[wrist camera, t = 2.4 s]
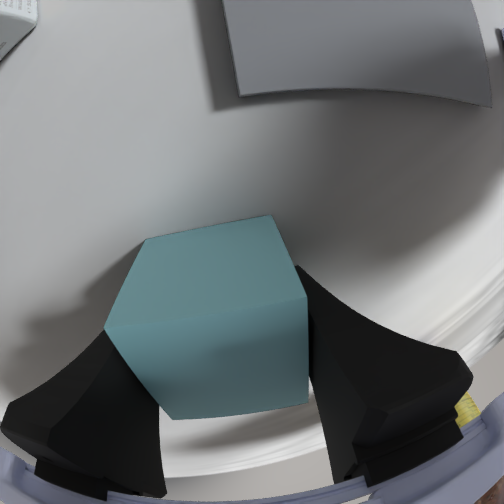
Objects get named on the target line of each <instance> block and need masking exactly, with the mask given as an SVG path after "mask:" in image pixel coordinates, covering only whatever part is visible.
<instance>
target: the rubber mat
mask: <svg viewBox="0 0 504 504" xmlns="http://www.w3.org/2000/svg"><path fill="white" fill-rule="evenodd" d="M221 2H222V7H223V12H224V18H225V23H226V28H227V34H228V39H229V45H230V50H231V56H232V61H233V67H234V73H235V78H236V84H237V90H238V96H239V97H244V96H251V95H259V94H268V93H277V92H288V91H302V90H327V89H356V90H379V91H393V92H404V93H413V94H420V95H428V96H434V97H440V98H446V99H451V100H456V101H461V102H465V103H470V104H474V105H478V106H484V107H489V108H492V99H491V88H490V79H489V72H488V66H487V60H486V54H485V49H484V44H483V40H482V36H481V32H480V28H479V24H478V20H477V17H476V14H475V10H474V7H473V4H472V1H471V0H221Z"/></svg>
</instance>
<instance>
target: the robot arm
mask: <svg viewBox="0 0 504 504" xmlns="http://www.w3.org/2000/svg"><path fill="white" fill-rule="evenodd" d="M502 35H503V39H504V28H502ZM294 267H295V270H296V272H297V274H298V277H299V279H300V281H301V284H302V286H303V288H304V291H305V293H306V295H307V308H308V351H309V377H310V380H311V383H312V387H313V390H314V394H315V398H316V402H317V406H318V410H319V414H320V418H321V423H322V427H323V431H324V436H325V440H326V445H327V450H328V455H329V460H330V465H331V470H332V476H333V481H334V485H331V486H327V487H323V488H319V489H315V490H310V491H306V492H301V493H296V494H290V495H284V496H278V497H271V498H263V499H254V500H242V501H223V502H193V501H174V500H163V499H153V498H162V497H164V496H165V495H166V494H167V490H166V485H165V481H164V474H163V468H162V460H161V451H160V436H159V404H158V403H157V402H156V400H155V399H154V398H153V397H152V396H151V394H150V393H149V392H148V391H147V389H146V388H145V387H144V386H143V384H142V383H141V382H140V380H139V379H138V378H137V376H136V375H135V374H134V372H133V371H132V370H131V368H130V367H129V366H128V364H127V363H126V361H125V360H124V358H123V357H122V356H121V354H120V353H119V351H118V350H117V348H116V347H115V345H114V344H113V342H112V341H111V339H110V338H109V336H108V334H107V333H106V331H105V330H103V331H102V332H101V333H100V335H99V336H98V337H97V338H96V339H95V340H94V341H93V342H92V343H91V344H90V345H89V346H88V347H87V348H86V349H85V350H84V351H83V352H82V353H81V354H80V355H79V356H78V357H77V358H76V359H75V360H73V361H72V362H71V363H70V364H69V365H67V366H66V367H65V368H64V369H62V370H61V371H60V372H59V373H57V374H56V375H55V376H54V377H52V378H51V379H49V380H48V381H47V382H45V383H44V384H42V385H41V386H39V387H37V388H36V389H34V390H33V391H31V392H29V393H27V394H26V395H24V396H22V397H20V398H18V399H16V400H14V401H12V402H10V403H9V405H8V407H7V409H6V412H5V415H4V417H3V420H2V423H1V426H0V429H1V431H2V433H3V434H4V435H5V436H6V437H7V438H8V439H10V440H11V441H12V442H13V443H15V444H16V445H17V446H19V447H20V448H22V449H23V450H24V451H26V452H27V453H29V454H30V455H32V456H34V457H35V458H36V459H37V462H36V466H35V467H34V466H32V465H30V464H28V463H26V462H25V461H24V460H22V459H21V458H19V457H18V456H16V455H15V454H13V453H11V452H9V451H7V450H6V449H4V448H2V447H0V500H1V501H2V502H4V503H5V504H341V503H344V502H347V501H350V500H354V499H357V498H360V497H362V496H366V495H368V494H371V493H372V494H371V495H370V497H369V499H368V501H365V502H362V503H359V504H474V503H475V502H476V501H477V500H478V499H479V498H480V497H482V496H483V495H484V494H485V493H486V492H487V491H488V490H489V489H490V488H491V487H492V486H493V485H494V484H495V483H496V482H497V481H498V480H499V479H500V478H501V477H502V476H503V475H504V392H503V393H502V394H500V395H499V396H498V397H497V398H495V399H494V400H493V401H492V402H491V403H490V404H489V405H488V406H487V407H486V408H485V409H484V410H483V411H482V412H481V414H480V415H479V416H477V417H476V418H474V419H473V420H472V421H470V422H469V423H467V424H466V425H464V426H463V427H461V428H459V426H458V424H457V422H456V421H455V419H456V418H457V417H458V413H457V411H456V409H455V405H456V404H457V403H458V402H459V400H460V399H461V398H462V397H463V396H464V394H465V393H466V392H467V390H468V389H469V387H470V386H471V384H472V381H473V374H472V372H471V371H470V369H469V368H468V366H467V365H466V363H465V362H464V360H463V359H462V358H461V356H460V355H459V354H458V353H457V351H453V350H449V349H445V348H441V347H437V346H433V345H429V344H426V343H423V342H420V341H417V340H414V339H411V338H409V337H406V336H404V335H401V334H399V333H396V332H394V331H392V330H390V329H388V328H385V327H383V326H381V325H379V324H377V323H375V322H373V321H371V320H370V319H368V318H366V317H364V316H363V315H361V314H359V313H358V312H356V311H354V310H353V309H351V308H350V307H348V306H347V305H346V304H344V303H343V302H341V301H340V300H339V299H337V298H336V297H335V296H333V295H332V294H331V293H330V292H328V291H327V290H326V289H325V288H323V287H322V286H321V285H320V284H319V283H318V282H316V281H315V280H314V279H313V278H312V277H311V276H310V275H309V274H308V273H306V272H305V271H304V270H303V269H302V268H301V267H300V266H298V265H296V266H294ZM133 495H137V496H133ZM139 496H145V497H139ZM146 497H153V498H146Z"/></svg>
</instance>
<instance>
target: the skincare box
mask: <svg viewBox="0 0 504 504" xmlns="http://www.w3.org/2000/svg"><path fill="white" fill-rule="evenodd" d="M37 19H38V14H37V0H0V60H1V59H2V58H3V57H4V56H5V55H6V54H7V53H8V52H9V51H10V50H11V49H12V48H13V47H14V46H15V45H16V44H17V43H18V42H19V41H20V40H21V39H22V38H23V37H24V36H25V35H26V34H27V33H28V32H30V31H31V30H32V29H33V28H34V27H35V26H36V24H37Z"/></svg>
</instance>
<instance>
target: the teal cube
mask: <svg viewBox="0 0 504 504" xmlns="http://www.w3.org/2000/svg"><path fill="white" fill-rule="evenodd" d="M104 330H105V331H106V333H107V334H108V336H109V338H110V339H111V341H112V342H113V344H114V345H115V347H116V348H117V350H118V351H119V353H120V354H121V356H122V357H123V358H124V360H125V361H126V363H127V364H128V366H129V367H130V368H131V370H132V371H133V372H134V374H135V375H136V376H137V378H138V379H139V380H140V382H141V383H142V384H143V386H144V387H145V388H146V389H147V391H148V392H149V393H150V394H151V396H152V397H153V398H154V399H155V400H156V402H157V403H158V404H159V405H160V406H161V408H162V409H163V410H164V411H165V412H166V413H167V414H168V416H169V417H170V418H171V419H172V420H182V419H202V418H215V417H225V416H234V415H242V414H250V413H256V412H263V411H269V410H275V409H280V408H285V407H290V406H295V405H300V404H304V403H308V391H309V351H308V308H307V295H306V293H305V291H304V288H303V286H302V284H301V281H300V279H299V277H298V274H297V272H296V270H295V267H294V265H293V263H292V260H291V258H290V256H289V253H288V251H287V249H286V247H285V244H284V242H283V240H282V238H281V235H280V233H279V231H278V229H277V226H276V224H275V222H274V220H273V218H272V215H267V216H261V217H256V218H250V219H245V220H239V221H234V222H228V223H223V224H218V225H213V226H208V227H203V228H197V229H192V230H188V231H183V232H178V233H173V234H168V235H163V236H159V237H154V238H149V239H146V240H145V242H144V244H143V246H142V247H141V249H140V251H139V253H138V255H137V257H136V259H135V261H134V263H133V265H132V267H131V269H130V271H129V273H128V275H127V277H126V279H125V281H124V283H123V285H122V287H121V289H120V292H119V294H118V296H117V298H116V300H115V302H114V305H113V307H112V309H111V311H110V314H109V316H108V318H107V321H106V323H105V325H104Z"/></svg>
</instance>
